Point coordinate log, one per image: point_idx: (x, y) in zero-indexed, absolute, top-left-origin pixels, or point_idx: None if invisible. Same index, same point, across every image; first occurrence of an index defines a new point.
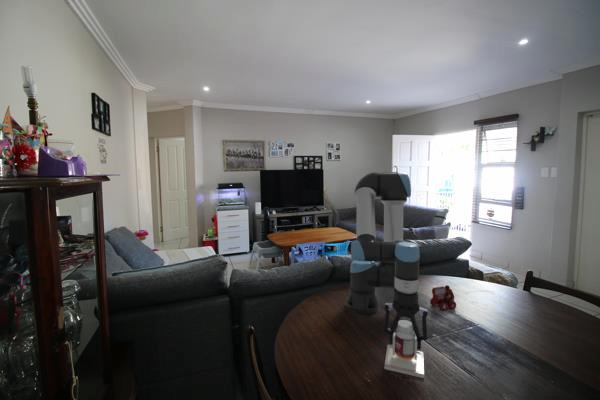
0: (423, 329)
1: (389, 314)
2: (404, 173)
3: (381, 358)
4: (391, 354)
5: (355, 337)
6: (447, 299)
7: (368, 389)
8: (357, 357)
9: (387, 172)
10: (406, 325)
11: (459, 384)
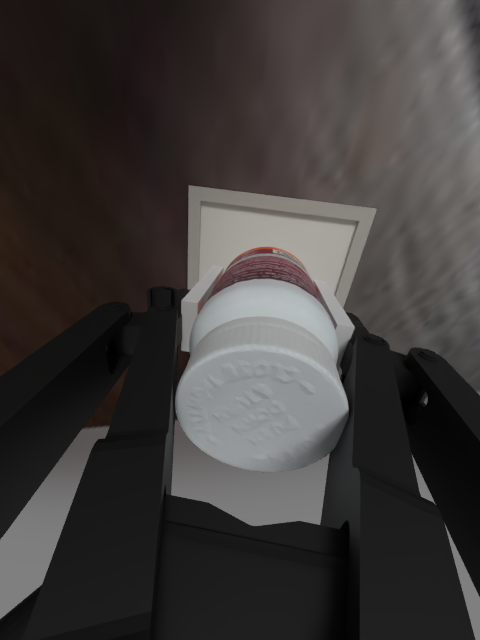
0: (428, 473)
1: (15, 464)
2: None
3: (175, 278)
4: (211, 264)
5: (19, 123)
6: None
7: None
8: (91, 291)
9: None
10: (263, 441)
11: None
